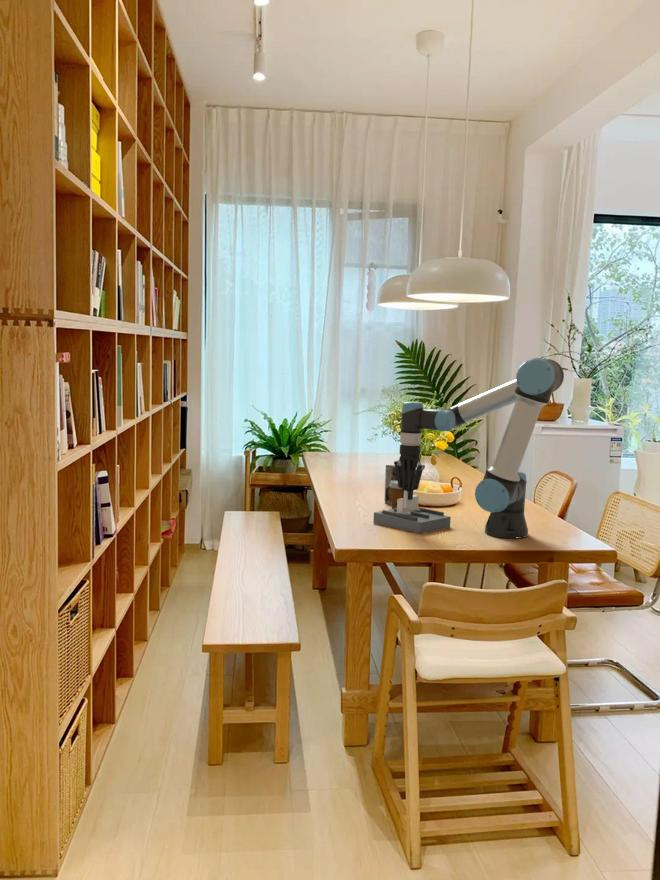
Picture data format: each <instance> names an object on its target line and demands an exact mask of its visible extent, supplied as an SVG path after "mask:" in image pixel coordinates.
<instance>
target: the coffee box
mask: <svg viewBox="0 0 660 880" xmlns="http://www.w3.org/2000/svg"><path fill="white" fill-rule="evenodd" d="M384 475H385V476H384V479H385V480H384V500H383V501H385V502H384V504H385V503H387V504H386V505H392V501H391V488H390V485H389V484H390V482H391V481H395V480H397V473H396V467H395V465H394V464H391V465H390V464H386V465H385V473H384Z"/></svg>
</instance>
